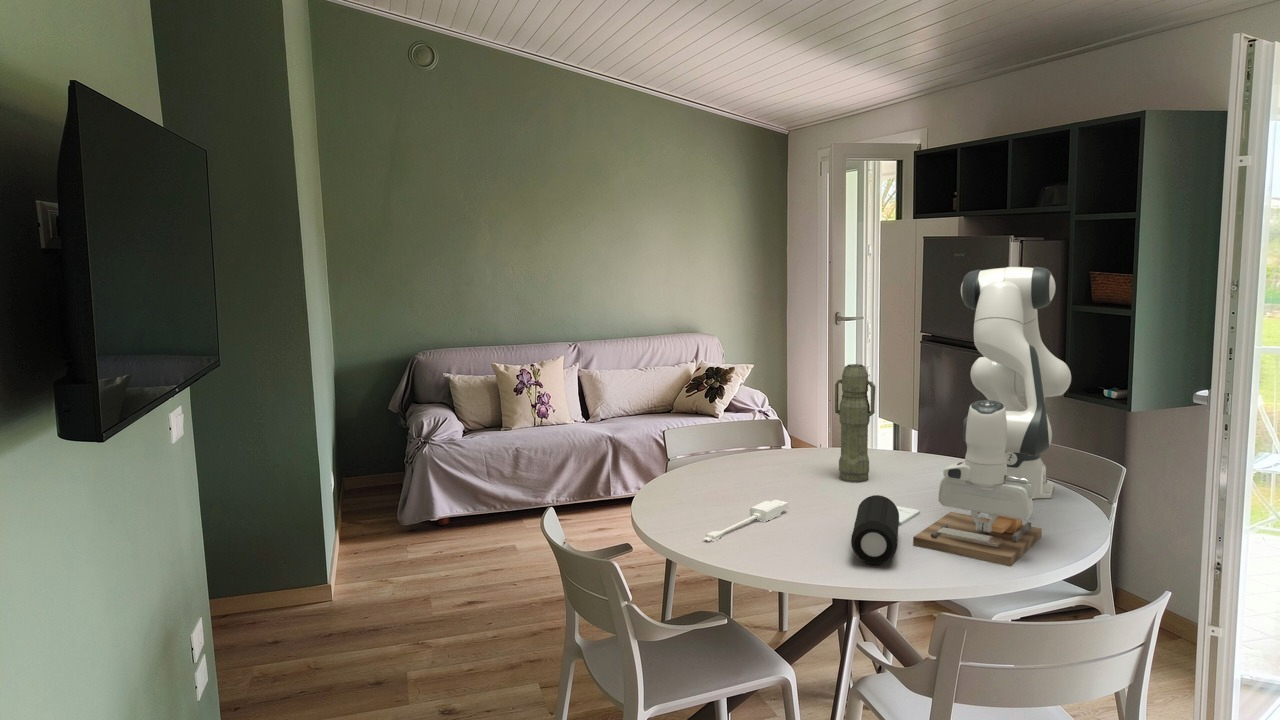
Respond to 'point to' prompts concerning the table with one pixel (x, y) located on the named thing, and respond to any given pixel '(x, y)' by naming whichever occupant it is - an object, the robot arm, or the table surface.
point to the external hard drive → (906, 514)
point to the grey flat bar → (970, 537)
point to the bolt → (1006, 525)
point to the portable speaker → (875, 530)
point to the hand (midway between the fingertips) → (983, 530)
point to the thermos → (854, 422)
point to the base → (1003, 554)
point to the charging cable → (755, 515)
